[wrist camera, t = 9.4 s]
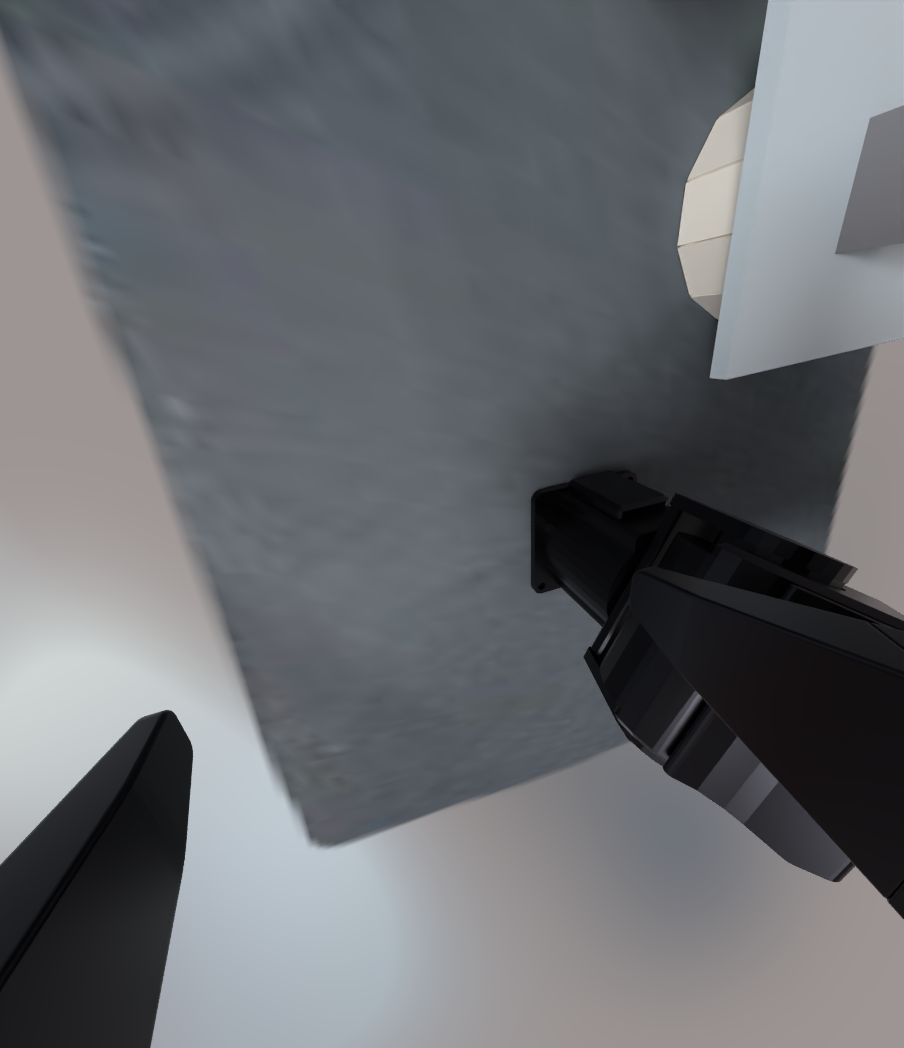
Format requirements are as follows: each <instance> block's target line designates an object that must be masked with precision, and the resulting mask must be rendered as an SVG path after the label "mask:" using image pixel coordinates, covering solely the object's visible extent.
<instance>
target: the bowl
mask: <svg viewBox="0 0 904 1048" xmlns="http://www.w3.org/2000/svg"><path fill="white" fill-rule="evenodd" d="M754 90H755V88H754V89H752V90H751V91H750V92H749V93H748V94H746V95H745V96H744V97H743V98H742V99H740V100H739V101H738V102H737V103H736V104H734V105H733V106H732V107H731V108H730V109H728V110H727V111H726V112H725V113H724V114H722V115H721V116H720V117H719V119H718V120H716V122H715V124H714V126H713V128H712V130H711V133H710V135H709V137H708V139H707V141H706V143H705V145H704V147H703V149H702V151H701V153H700V155H699V157H698V159H697V161H696V163H695V165H694V167H693V169H692V171H691V173H690V175H689V177H688V179H687V181H688V183H686V187H685V194H684V202H683V209H682V216H681V224H680V231H679V238H678V246H680V247H679V248H678V252H679V256H680V260H681V264H682V268H683V272H684V276H685V280H686V284H687V288H688V292H689V296H690V295H691V298H692V299H693V300H694V301H696V302H697V303H698V304H699V305H700V306H702V307H703V308H704V309H705V310H706V311H707V312H709V313H710V314H711V315H712V316H713V317H715V318H716V319H718V320H719V315H720V308H721V302H722V295H723V289H724V283H725V276H726V270H727V263H728V257H729V251H730V244H731V238H732V231H733V225H734V218H735V212H736V206H737V199H738V193H739V186H740V180H741V173H742V167H743V161H744V154H745V148H746V141H747V135H748V129H749V122H750V116H751V109H752V103H753V96H754Z"/></svg>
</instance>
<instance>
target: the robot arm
mask: <svg viewBox="0 0 904 1048" xmlns="http://www.w3.org/2000/svg"><path fill="white" fill-rule="evenodd" d="M542 497H544V498H543V501H542V502H541V503H539V500H540V499H541V498H542ZM667 503H668V498H667V497H666V496H665V495H664V494H662V493H660V492H657V491H655V490H653V489H650V488H648V487H646V486H644V485H641V484H639V483H637V482H636V475H635V473H633V472H630V471H621V472H617V473H614V472H611V471H607V472H603V473H598V474H594V475H590V476H585V477H581V478H576V479H572V480H571V481H570V482H569V483H568V484H564V485H560V486H555V487H551V488H546V489H542V490H539V491H536V492H535V493H534V494H533V496H532V499H531V586H532V588H533V589H534V590H535V591H536V593H544V592H547V591H551V590H554V589H557V588H562V589H563V590H564V591H565V592H566V593H567V594H568V595H569V596H571V597H572V598H573V599H574V600H575V601H576V602H577V603H578V604H579V605H580V606H581V607H582V608H583V609H584V610H585V611H586V612H587V613H588V614H589V615H590V616H591V617H592V618H593V619H595V620H596V621H597V622H598V623H599V624H600V625H601V626H602V629H601V631H600V632H599V634H598V636H597V638H596V640H595V641H594V643H593V645H592V647H589V648H588V649H587V651H586V653H585V655H584V659H585V661H586V663H587V665H588V667H589V669H590V671H591V673H592V674H593V676H594V678H595V680H596V682H597V684H598V686H599V688H600V690H601V692H602V694H603V696H604V698H605V700H606V702H607V704H608V706H609V708H610V710H611V712H612V714H613V715H614V717H615V719H616V721H617V723H618V724H619V726H620V728H621V729H622V731H623V732H624V733H625V735H626V737H627V738H628V740H629V741H630V742H632V743H633V744H635V745H636V746H637V747H638V748H639V749H640V750H641V751H642V752H644V753H645V754H646V755H648V756H649V757H650V758H651V759H652V760H654V761H655V762H657V763H659V764H660V765H662V766H663V769H664V771H665V772H666V773H667V774H668V775H669V776H671V777H672V778H674V779H676V780H678V781H680V782H682V783H684V784H686V785H688V786H690V787H692V788H694V789H696V790H697V791H699V792H700V793H702V794H703V795H705V796H706V797H707V798H709V799H710V800H712V801H713V802H715V803H716V804H718V805H719V806H721V807H722V808H724V809H725V810H726V811H728V812H729V813H730V814H731V815H732V816H734V817H735V818H736V819H737V820H739V821H740V822H741V823H742V824H744V825H745V826H746V827H747V828H748V829H749V830H750V831H752V832H753V833H754V834H755V835H756V836H758V837H759V838H760V839H761V840H763V842H764V843H766V844H767V845H768V846H769V847H770V848H771V849H773V850H774V851H775V852H776V853H777V854H778V855H780V856H781V857H782V858H783V859H785V860H786V861H787V862H789V863H791V864H793V865H795V866H797V867H799V868H802V869H804V870H806V871H808V872H811V873H813V874H815V875H818V876H820V877H822V878H824V879H827V880H829V881H833V882H840V881H841V880H842V879H843V878H844V877H845V876H846V875H847V874H848V873H849V872H850V871H851V870H852V869H853V868H854V867H855V866H856V867H857V868H858V869H859V870H860V871H861V873H862V874H863V875H864V876H865V877H866V878H867V879H868V880H869V881H870V882H871V883H872V885H873V886H874V887H875V888H876V889H877V890H878V891H879V892H880V893H881V894H882V896H883V897H885V898H887V901H888V902H889V904H890V905H891V906H892V907H893V908H894V909H895V910H896V911H897V913H898V914H899V915H900V916H901V917H902V918H903V919H904V615H902V614H901V613H899V612H897V611H896V610H894V609H892V608H891V607H889V606H888V605H886V604H884V603H883V602H881V601H879V600H877V599H874V598H872V597H870V596H868V595H865V594H863V593H861V592H859V591H856V590H854V589H852V588H850V587H847V586H845V584H847V583H848V582H849V580H850V579H851V577H852V576H853V575H854V573H855V572H856V571H857V568H855V567H853V566H851V565H848V564H846V563H844V562H842V561H839V560H837V559H835V558H833V557H830V556H828V555H826V554H823V553H821V552H819V551H817V550H814V549H812V548H810V547H807V546H805V545H803V544H801V543H798V542H796V541H794V540H791V539H789V538H787V537H784V536H782V535H779V534H777V533H774V532H772V531H770V530H767V529H765V528H762V527H760V526H757V525H755V524H753V523H750V522H748V521H745V520H743V519H740V518H738V517H735V516H733V515H730V514H728V513H725V512H723V511H720V510H718V509H715V508H713V507H710V506H708V505H705V504H702V503H700V502H697V501H695V500H692V499H690V498H687V497H685V496H682V495H680V494H677V493H675V495H674V497H673V499H672V501H671V502H670V505H671V507H670V506H668V505H667ZM541 583H542V584H541ZM539 584H541V585H540V586H539ZM192 762H193V749H192V745H191V742H190V740H189V738H188V736H187V734H186V732H185V731H184V729H183V727H182V725H181V724H180V722H179V720H178V718H177V716H176V715H175V714H174V713H173V712H172V711H170V710H165V711H161V712H158V713H155V714H151V715H148V716H144V717H142V718H140V719H139V720H138V721H137V722H135V723H134V724H133V725H132V727H131V728H130V729H129V730H128V731H127V732H126V733H125V734H124V735H123V736H122V737H121V738H120V739H119V740H118V741H117V742H116V743H115V744H114V746H113V747H112V748H111V749H110V750H109V751H108V752H107V753H106V754H105V755H104V756H103V757H102V758H101V759H100V760H99V761H98V762H97V763H96V765H95V766H94V767H93V768H92V769H91V770H90V771H89V772H88V773H87V774H86V775H85V776H84V777H83V778H82V779H81V780H80V781H79V782H78V784H77V785H76V786H75V787H74V788H73V789H72V790H71V791H70V792H69V793H68V794H67V795H66V796H65V797H64V798H63V799H62V801H60V802H59V804H58V805H57V806H56V807H55V808H54V809H53V810H52V811H51V812H50V813H49V814H48V815H47V816H46V817H45V818H44V819H43V820H42V822H41V823H40V824H39V825H38V826H37V827H36V828H35V829H34V830H33V831H32V832H31V833H30V834H29V835H28V836H27V837H26V838H25V839H24V840H23V842H22V843H21V844H20V845H19V846H18V847H17V848H16V849H15V850H14V851H13V852H12V853H11V854H10V855H9V856H8V857H7V858H6V859H5V860H4V862H3V863H2V864H1V865H0V1048H150V1046H151V1041H152V1036H153V1030H154V1024H155V1019H156V1014H157V1008H158V1003H159V997H160V992H161V986H162V981H163V976H164V971H165V965H166V960H167V954H168V949H169V944H170V938H171V933H172V927H173V922H174V916H175V911H176V906H177V900H178V895H179V890H180V884H181V879H182V873H183V866H184V860H185V851H186V840H187V826H188V814H189V800H190V788H191V774H192Z"/></svg>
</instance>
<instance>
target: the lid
mask: <svg viewBox="0 0 904 1048" xmlns="http://www.w3.org/2000/svg"><path fill="white" fill-rule="evenodd" d="M903 338H904V0H768V7H767V13H766V19H765V26H764V32H763V39H762V45H761V51H760V58H759V64H758V71H757V77H756V84H755V90H754V96H753V103H752V109H751V116H750V122H749V129H748V135H747V141H746V148H745V154H744V161H743V167H742V173H741V180H740V186H739V193H738V199H737V206H736V212H735V218H734V225H733V231H732V238H731V244H730V251H729V257H728V263H727V270H726V276H725V283H724V289H723V295H722V302H721V308H720V315H719V321H718V328H717V334H716V340H715V347H714V353H713V360H712V366H711V373H710V378H715V379H724V380H728V379H732V378H736V377H740V376H745V375H749V374H753V373H758V372H762V371H766V370H770V369H775V368H779V367H783V366H788V365H792V364H796V363H800V362H805V361H809V360H813V359H818V358H822V357H826V356H830V355H835V354H839V353H843V352H848V351H852V350H856V349H860V348H865V347H869V346H873V345H878V344H881V343H886V342H890V341H895V340H899V339H903Z"/></svg>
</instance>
